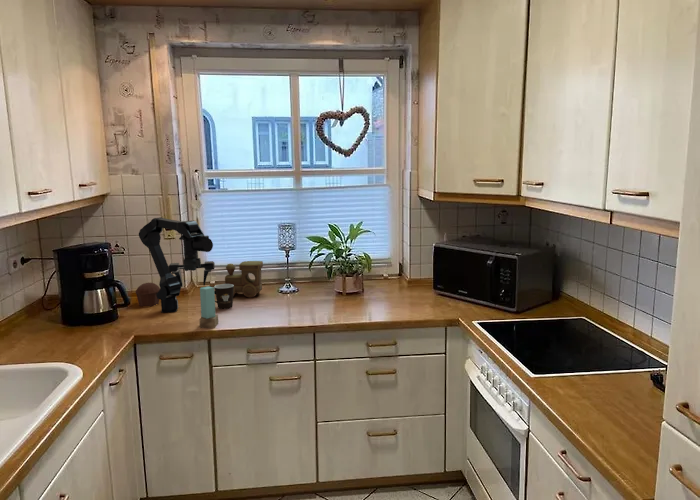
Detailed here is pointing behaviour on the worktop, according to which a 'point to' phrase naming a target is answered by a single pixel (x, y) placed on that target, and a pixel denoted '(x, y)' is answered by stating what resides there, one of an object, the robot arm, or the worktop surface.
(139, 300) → the muffin
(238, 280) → the wooden toy train
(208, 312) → the tall block
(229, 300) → the coffee mug
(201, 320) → the base block
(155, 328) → the worktop surface
